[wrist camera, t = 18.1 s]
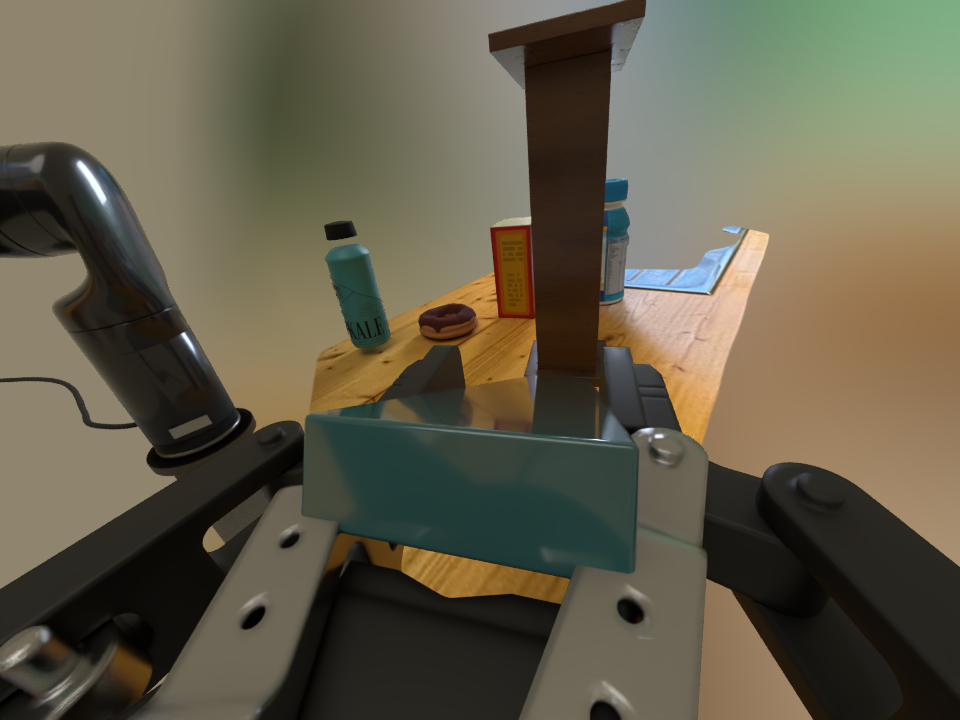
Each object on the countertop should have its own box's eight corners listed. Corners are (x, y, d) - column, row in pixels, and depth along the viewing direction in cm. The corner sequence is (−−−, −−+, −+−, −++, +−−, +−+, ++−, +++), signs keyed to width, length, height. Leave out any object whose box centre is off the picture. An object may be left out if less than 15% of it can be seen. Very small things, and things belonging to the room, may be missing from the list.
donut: (473, 316, 66) (471, 296, 64) (482, 336, 57) (479, 314, 55) (420, 325, 65) (416, 305, 63) (421, 347, 56) (416, 325, 54)
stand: (534, 344, 52) (522, 78, 37) (605, 344, 50) (622, 57, 34) (518, 407, 39) (488, 33, 24) (612, 413, 36) (646, -6, 21)
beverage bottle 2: (628, 305, 61) (639, 178, 52) (578, 307, 63) (580, 185, 54) (620, 290, 69) (629, 176, 59) (576, 292, 70) (577, 182, 61)
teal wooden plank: (530, 395, 28) (531, 375, 28) (587, 398, 27) (588, 377, 27) (297, 527, 5) (302, 413, 5) (636, 596, 4) (640, 444, 4)
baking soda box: (512, 299, 71) (506, 216, 63) (544, 299, 69) (542, 213, 61) (498, 317, 63) (489, 225, 56) (533, 318, 61) (529, 222, 54)
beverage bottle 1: (378, 337, 62) (344, 218, 53) (402, 344, 58) (370, 217, 49) (346, 352, 58) (303, 226, 48) (370, 361, 54) (328, 225, 44)
